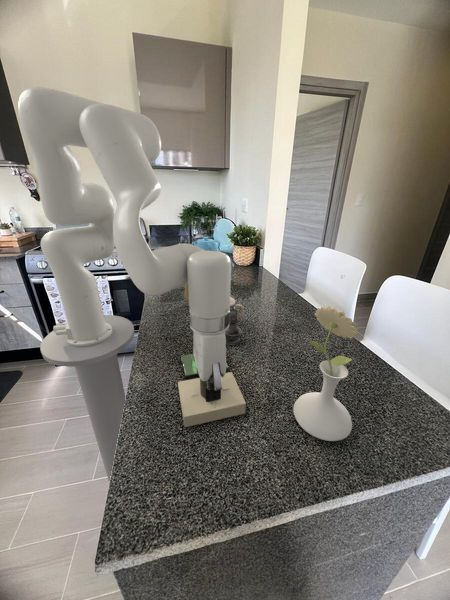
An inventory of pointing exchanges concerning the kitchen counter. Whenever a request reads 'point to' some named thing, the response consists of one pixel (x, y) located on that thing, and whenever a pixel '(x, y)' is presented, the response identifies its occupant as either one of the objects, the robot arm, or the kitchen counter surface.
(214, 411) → the panel
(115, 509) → the kitchen counter surface
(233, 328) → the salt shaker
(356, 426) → the kitchen counter surface
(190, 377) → the button box
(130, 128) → the robot arm
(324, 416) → the flower in vase
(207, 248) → the decorative pot
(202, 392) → the knob
